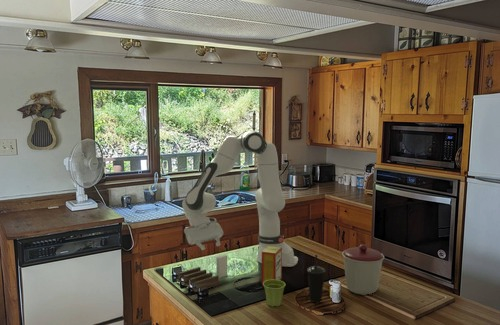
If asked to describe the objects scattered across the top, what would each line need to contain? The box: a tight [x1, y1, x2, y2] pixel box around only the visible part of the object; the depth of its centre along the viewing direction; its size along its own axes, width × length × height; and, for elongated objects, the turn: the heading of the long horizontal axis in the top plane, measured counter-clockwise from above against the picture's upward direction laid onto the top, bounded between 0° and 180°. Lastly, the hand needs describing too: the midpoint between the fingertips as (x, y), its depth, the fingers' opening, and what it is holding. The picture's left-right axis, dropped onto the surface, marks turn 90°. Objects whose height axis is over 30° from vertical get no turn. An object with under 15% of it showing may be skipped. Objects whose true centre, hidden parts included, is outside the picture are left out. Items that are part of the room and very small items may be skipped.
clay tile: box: [215, 254, 228, 279], centre depth 202 cm, size 2×5×10 cm, turn 132°
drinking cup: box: [306, 254, 326, 303], centre depth 174 cm, size 8×8×20 cm
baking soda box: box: [261, 246, 283, 285], centre depth 195 cm, size 10×6×16 cm
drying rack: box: [175, 266, 222, 292], centre depth 193 cm, size 16×14×4 cm
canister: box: [341, 243, 385, 296], centre depth 185 cm, size 18×18×21 cm
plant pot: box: [262, 279, 287, 308], centre depth 172 cm, size 9×9×9 cm
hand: (211, 247), depth 208 cm, fingers open, 8 cm apart
